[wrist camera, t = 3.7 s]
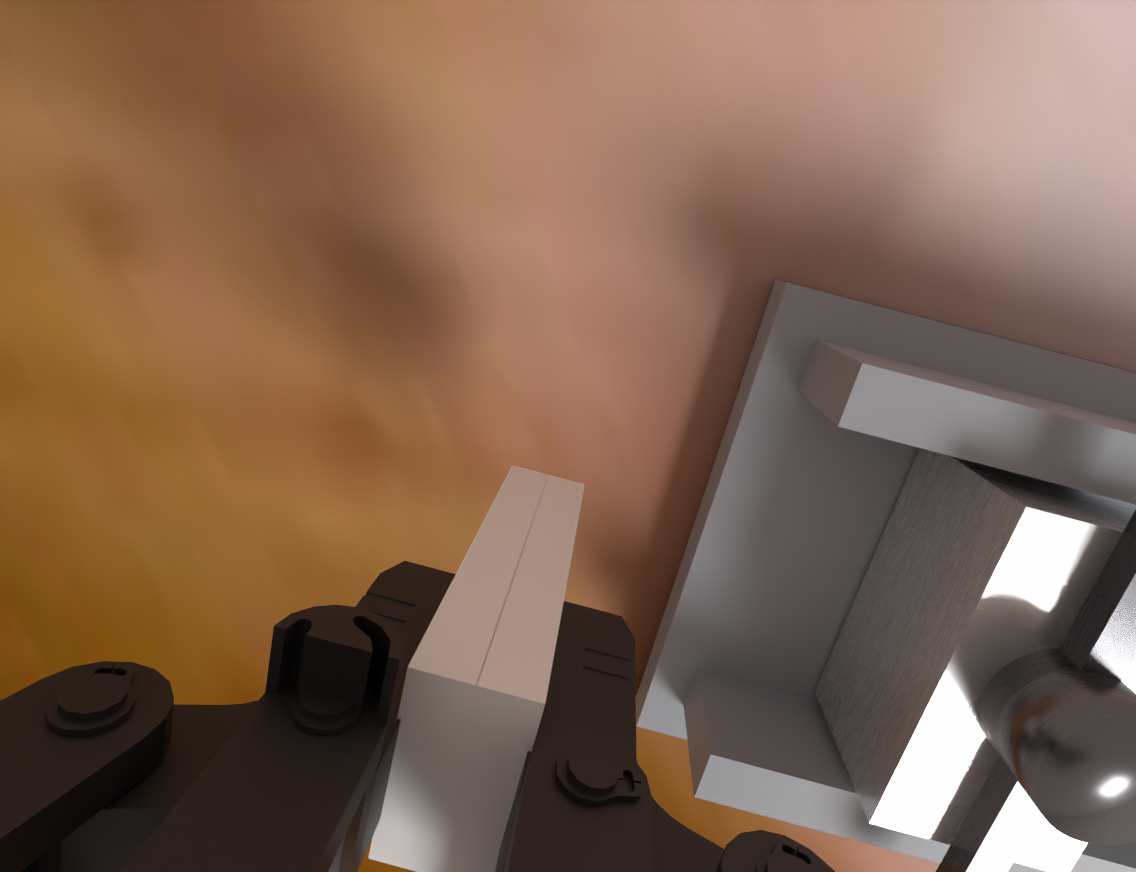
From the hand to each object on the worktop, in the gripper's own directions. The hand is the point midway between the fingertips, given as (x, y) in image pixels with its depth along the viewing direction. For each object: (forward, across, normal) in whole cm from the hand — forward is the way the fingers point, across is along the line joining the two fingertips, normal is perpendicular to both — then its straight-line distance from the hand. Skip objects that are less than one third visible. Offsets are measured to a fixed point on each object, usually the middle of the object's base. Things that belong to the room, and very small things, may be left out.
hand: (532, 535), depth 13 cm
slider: (+3, +10, 0) cm, 10 cm away
